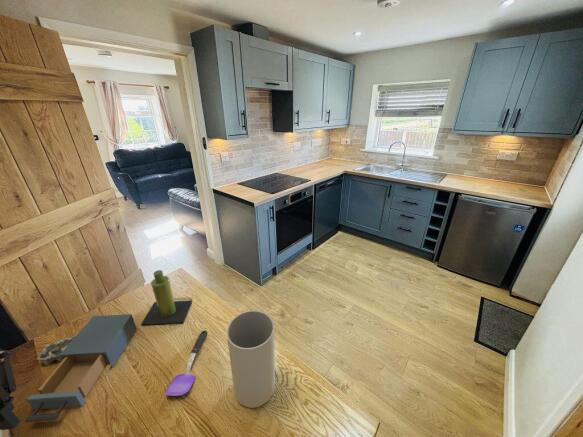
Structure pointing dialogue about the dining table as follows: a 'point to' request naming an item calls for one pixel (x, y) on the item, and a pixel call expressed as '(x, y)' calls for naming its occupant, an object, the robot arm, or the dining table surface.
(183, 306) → the mat
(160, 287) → the oil bottle
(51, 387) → the drawer
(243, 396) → the cylinder vase
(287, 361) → the dining table surface
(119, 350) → the cabinet
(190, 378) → the spatula
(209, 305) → the dining table surface
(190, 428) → the dining table surface
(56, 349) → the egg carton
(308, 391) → the dining table surface
